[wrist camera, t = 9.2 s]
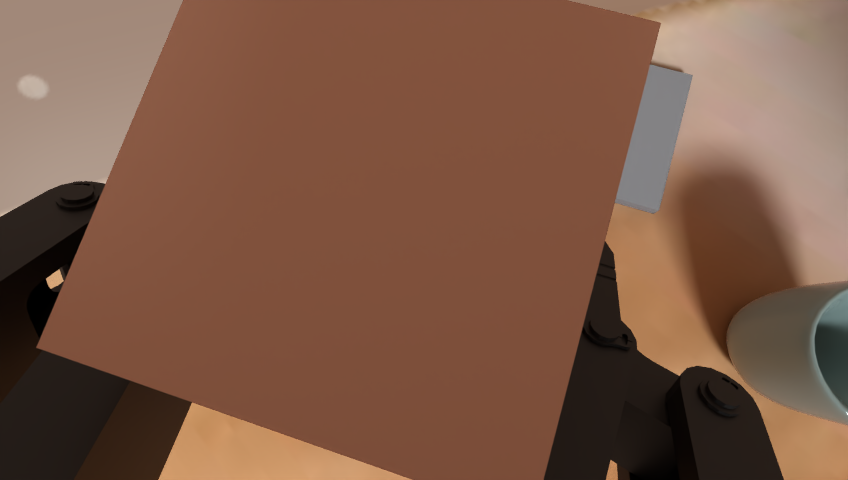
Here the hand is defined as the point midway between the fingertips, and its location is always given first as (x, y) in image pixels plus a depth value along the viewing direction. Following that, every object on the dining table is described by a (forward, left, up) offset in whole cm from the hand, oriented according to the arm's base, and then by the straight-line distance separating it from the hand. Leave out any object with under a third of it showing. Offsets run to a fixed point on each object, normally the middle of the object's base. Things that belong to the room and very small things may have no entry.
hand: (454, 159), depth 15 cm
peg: (-2, +3, -6) cm, 7 cm away
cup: (-21, -10, -22) cm, 32 cm away
